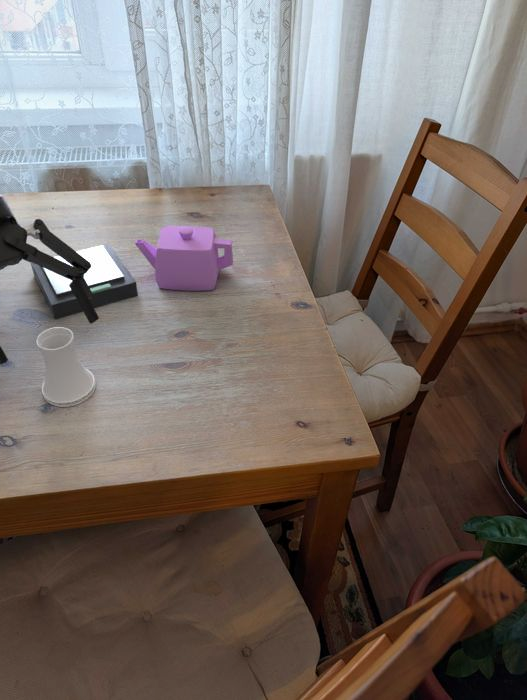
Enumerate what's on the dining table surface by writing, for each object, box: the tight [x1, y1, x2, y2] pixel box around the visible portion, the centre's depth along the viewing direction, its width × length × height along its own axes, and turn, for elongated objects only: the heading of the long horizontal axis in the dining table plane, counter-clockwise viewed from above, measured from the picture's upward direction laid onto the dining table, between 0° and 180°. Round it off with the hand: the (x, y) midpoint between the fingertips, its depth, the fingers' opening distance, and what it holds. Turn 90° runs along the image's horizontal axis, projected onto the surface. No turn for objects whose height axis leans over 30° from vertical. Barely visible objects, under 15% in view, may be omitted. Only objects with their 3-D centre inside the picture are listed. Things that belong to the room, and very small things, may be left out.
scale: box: [30, 243, 139, 320], centre depth 97 cm, size 15×15×4 cm
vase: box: [35, 326, 97, 408], centre depth 75 cm, size 8×8×10 cm
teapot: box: [134, 225, 234, 292], centre depth 98 cm, size 18×10×10 cm, turn 91°
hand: (51, 341), depth 74 cm, fingers open, 13 cm apart
